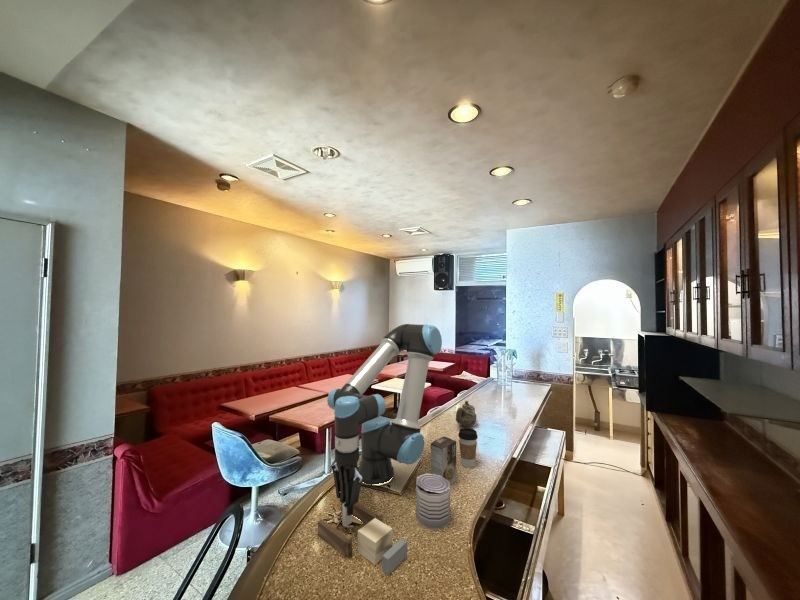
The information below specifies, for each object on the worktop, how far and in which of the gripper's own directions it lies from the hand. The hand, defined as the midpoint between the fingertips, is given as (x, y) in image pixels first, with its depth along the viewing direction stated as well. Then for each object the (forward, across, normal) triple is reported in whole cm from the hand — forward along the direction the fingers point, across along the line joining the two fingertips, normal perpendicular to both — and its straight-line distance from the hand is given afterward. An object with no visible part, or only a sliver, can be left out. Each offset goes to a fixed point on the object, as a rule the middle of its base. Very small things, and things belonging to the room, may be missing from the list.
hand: (347, 523), depth 97 cm
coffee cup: (+3, +11, +60) cm, 62 cm away
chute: (+2, +2, 0) cm, 3 cm away
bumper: (+2, +20, 0) cm, 20 cm away
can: (+2, +18, +22) cm, 28 cm away
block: (+2, +13, -1) cm, 13 cm away
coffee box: (+3, +10, +42) cm, 43 cm away
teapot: (+3, -9, +100) cm, 100 cm away
